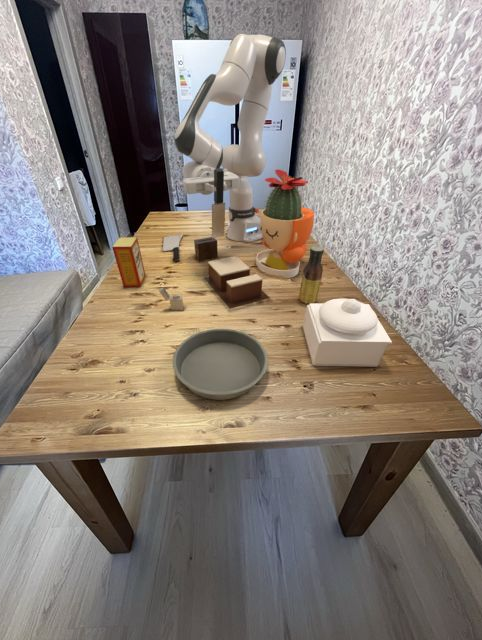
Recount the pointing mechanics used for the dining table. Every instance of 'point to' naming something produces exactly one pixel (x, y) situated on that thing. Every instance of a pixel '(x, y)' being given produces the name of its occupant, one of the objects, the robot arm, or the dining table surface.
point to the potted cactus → (284, 227)
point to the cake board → (239, 303)
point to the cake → (226, 271)
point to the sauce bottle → (312, 276)
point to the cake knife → (218, 205)
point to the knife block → (206, 249)
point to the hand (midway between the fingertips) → (220, 188)
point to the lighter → (173, 300)
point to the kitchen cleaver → (172, 245)
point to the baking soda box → (129, 261)
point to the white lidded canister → (344, 334)
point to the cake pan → (220, 363)
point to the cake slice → (244, 288)
